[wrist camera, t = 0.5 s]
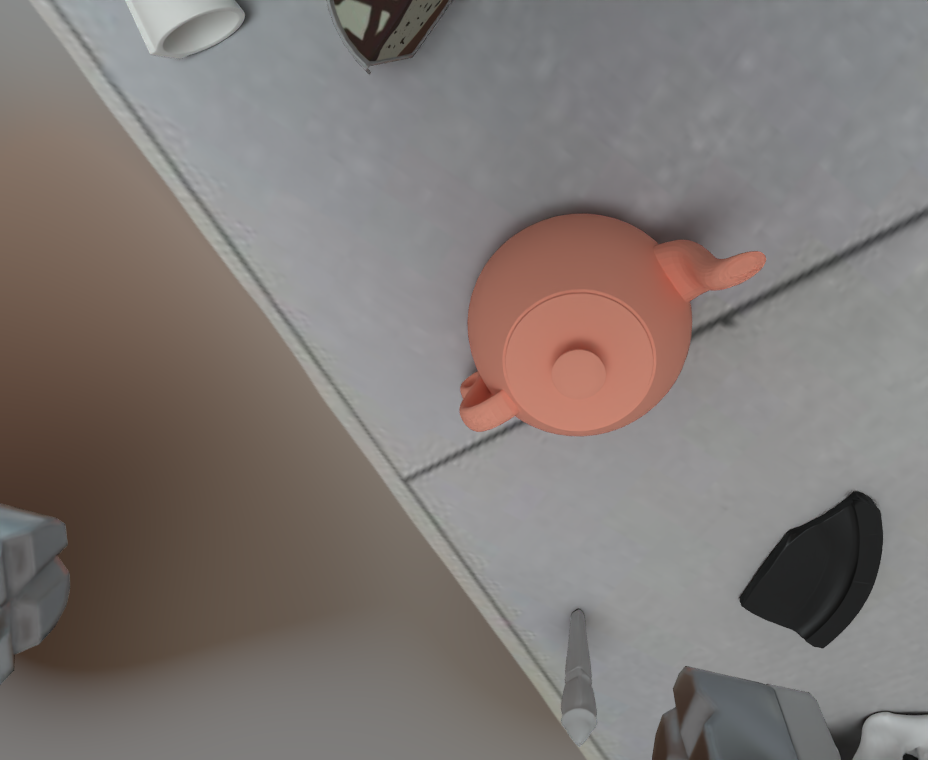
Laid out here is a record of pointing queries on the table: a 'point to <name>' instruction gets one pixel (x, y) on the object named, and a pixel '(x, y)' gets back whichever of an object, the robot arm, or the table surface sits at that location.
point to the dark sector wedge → (821, 572)
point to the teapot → (585, 323)
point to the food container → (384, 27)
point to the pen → (578, 684)
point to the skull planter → (893, 737)
